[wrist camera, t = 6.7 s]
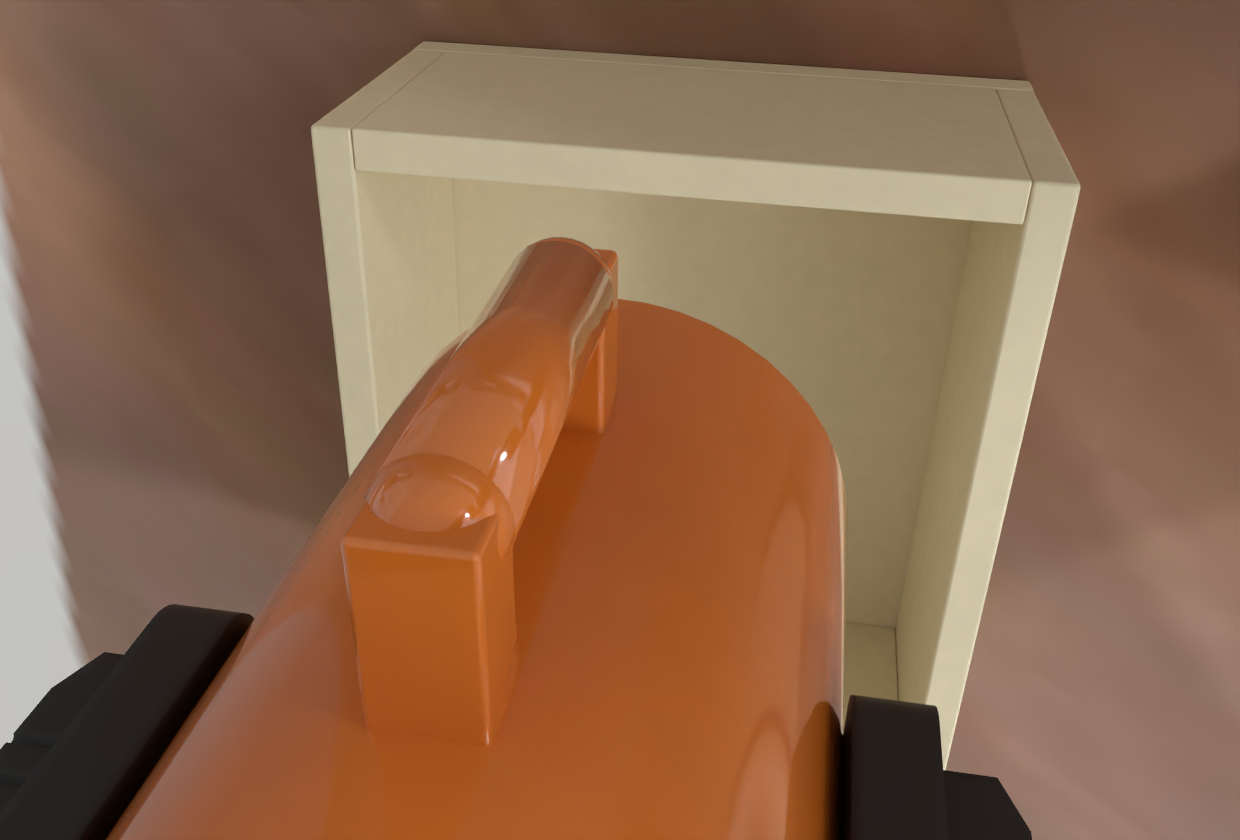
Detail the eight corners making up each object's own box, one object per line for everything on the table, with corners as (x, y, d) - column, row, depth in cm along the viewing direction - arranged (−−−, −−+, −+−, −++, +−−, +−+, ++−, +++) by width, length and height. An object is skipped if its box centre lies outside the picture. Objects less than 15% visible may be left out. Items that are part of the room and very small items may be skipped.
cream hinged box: (422, 40, 27) (308, 125, 22) (1030, 80, 26) (1082, 184, 20) (454, 575, 35) (376, 742, 30) (919, 634, 34) (933, 823, 28)
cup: (354, 123, 12) (-321, 666, 5) (896, 160, 11) (949, 852, 4) (408, 651, 16) (55, 1380, 9) (822, 706, 15) (787, 1552, 8)
